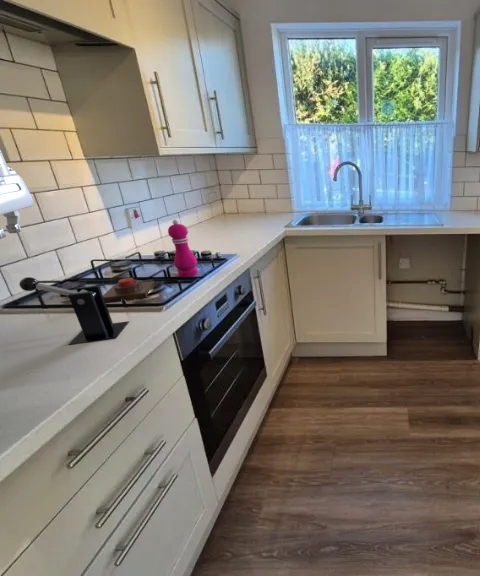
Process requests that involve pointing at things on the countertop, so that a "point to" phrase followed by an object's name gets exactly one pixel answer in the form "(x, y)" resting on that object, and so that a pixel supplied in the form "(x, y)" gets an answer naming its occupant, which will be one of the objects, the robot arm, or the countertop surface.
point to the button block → (128, 292)
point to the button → (126, 282)
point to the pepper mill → (182, 250)
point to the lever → (45, 287)
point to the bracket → (93, 317)
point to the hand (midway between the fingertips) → (7, 235)
